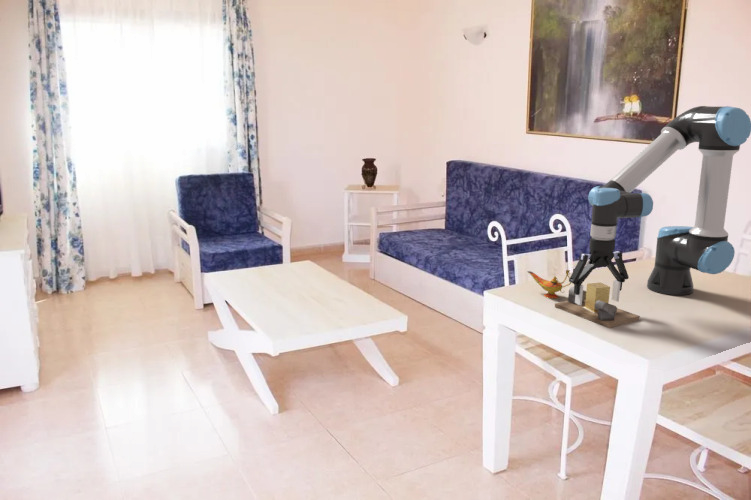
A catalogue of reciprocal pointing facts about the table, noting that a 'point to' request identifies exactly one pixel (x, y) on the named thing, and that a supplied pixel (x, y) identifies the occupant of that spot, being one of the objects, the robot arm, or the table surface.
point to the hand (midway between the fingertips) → (596, 302)
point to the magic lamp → (550, 284)
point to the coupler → (596, 295)
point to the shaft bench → (604, 316)
